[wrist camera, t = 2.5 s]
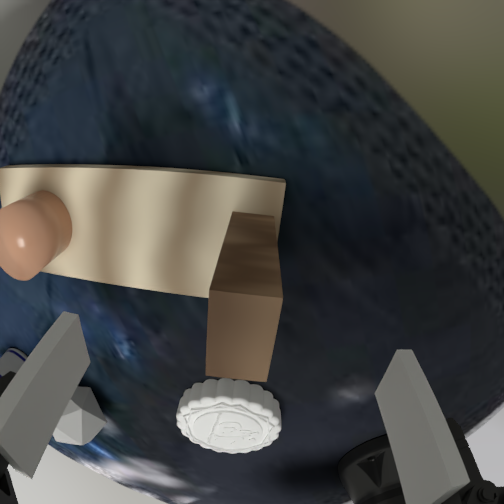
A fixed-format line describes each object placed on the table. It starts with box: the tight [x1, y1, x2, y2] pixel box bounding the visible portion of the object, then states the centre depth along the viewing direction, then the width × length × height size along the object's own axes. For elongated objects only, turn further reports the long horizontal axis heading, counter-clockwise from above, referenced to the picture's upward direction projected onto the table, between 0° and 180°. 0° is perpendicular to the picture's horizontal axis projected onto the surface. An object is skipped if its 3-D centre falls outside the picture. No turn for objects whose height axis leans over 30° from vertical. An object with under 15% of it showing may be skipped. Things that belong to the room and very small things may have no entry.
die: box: [53, 387, 107, 445], centre depth 32 cm, size 8×9×10 cm
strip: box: [0, 164, 286, 382], centre depth 19 cm, size 26×10×12 cm, turn 84°
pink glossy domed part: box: [0, 190, 72, 280], centre depth 21 cm, size 6×6×5 cm
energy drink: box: [0, 348, 28, 378], centre depth 28 cm, size 5×5×12 cm
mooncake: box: [176, 378, 281, 454], centre depth 33 cm, size 12×12×4 cm
